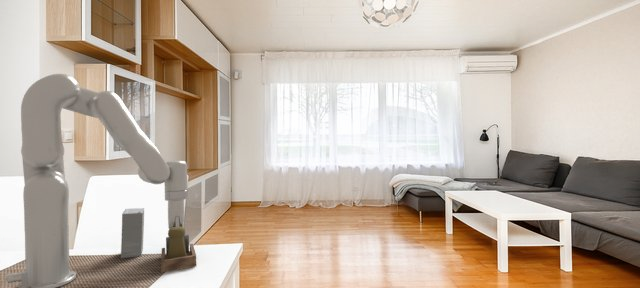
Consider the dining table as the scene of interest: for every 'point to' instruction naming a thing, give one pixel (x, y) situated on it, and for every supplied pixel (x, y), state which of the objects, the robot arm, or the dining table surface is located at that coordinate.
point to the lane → (178, 260)
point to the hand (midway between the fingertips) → (177, 245)
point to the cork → (176, 243)
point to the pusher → (186, 241)
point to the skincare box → (132, 232)
